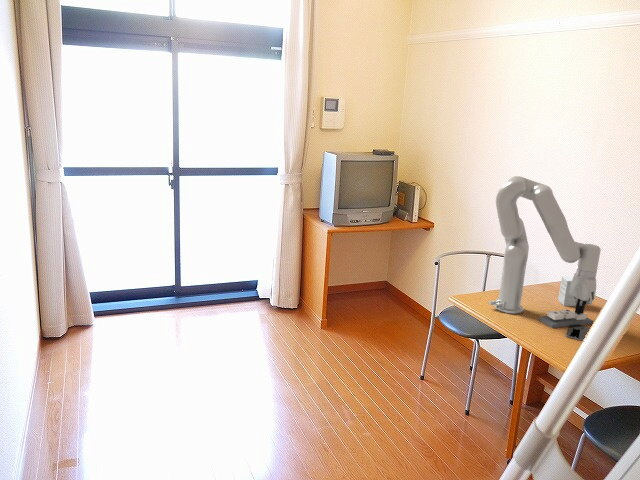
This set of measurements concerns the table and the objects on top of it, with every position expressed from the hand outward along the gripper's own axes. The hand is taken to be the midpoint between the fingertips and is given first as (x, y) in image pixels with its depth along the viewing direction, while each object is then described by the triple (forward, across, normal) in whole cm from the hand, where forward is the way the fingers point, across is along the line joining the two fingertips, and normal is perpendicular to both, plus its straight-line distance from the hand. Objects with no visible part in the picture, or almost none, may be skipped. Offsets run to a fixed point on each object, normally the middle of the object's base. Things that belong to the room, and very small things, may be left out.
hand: (579, 312), depth 217 cm
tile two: (+1, 0, -6) cm, 6 cm away
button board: (+4, 0, -6) cm, 7 cm away
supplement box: (+4, -18, +11) cm, 21 cm away
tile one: (+1, 0, -12) cm, 12 cm away
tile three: (+2, 0, 0) cm, 2 cm away
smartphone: (+4, +10, -9) cm, 14 cm away
